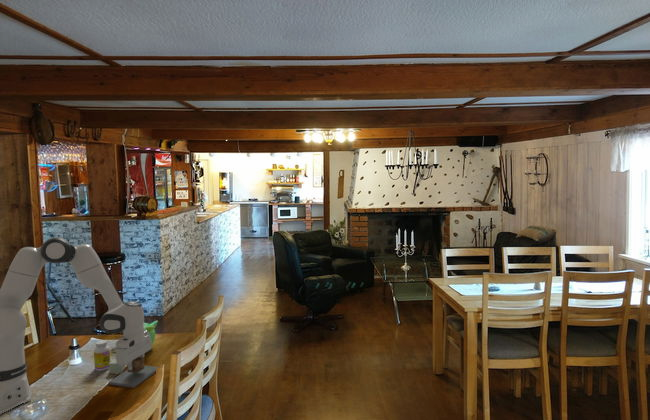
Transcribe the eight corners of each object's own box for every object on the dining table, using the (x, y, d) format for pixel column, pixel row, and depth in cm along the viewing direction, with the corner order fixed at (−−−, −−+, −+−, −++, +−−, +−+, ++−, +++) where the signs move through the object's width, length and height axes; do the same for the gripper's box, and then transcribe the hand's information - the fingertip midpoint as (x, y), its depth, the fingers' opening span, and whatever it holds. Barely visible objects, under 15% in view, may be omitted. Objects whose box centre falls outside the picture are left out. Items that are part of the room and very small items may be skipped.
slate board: (133, 387, 192) (133, 385, 192) (108, 384, 195) (108, 381, 195) (159, 369, 209) (159, 367, 209) (135, 366, 212) (135, 364, 212)
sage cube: (120, 373, 205) (119, 363, 205) (109, 373, 205) (108, 363, 205) (124, 368, 210) (124, 358, 210) (114, 369, 210) (113, 358, 210)
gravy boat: (125, 344, 240) (124, 318, 238) (159, 340, 245) (157, 315, 243) (121, 358, 222) (119, 329, 221) (157, 353, 228) (155, 325, 226)
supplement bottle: (104, 371, 207) (102, 345, 206) (91, 370, 209) (90, 344, 207) (113, 365, 214) (112, 339, 213) (101, 364, 215) (100, 339, 214)
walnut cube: (137, 373, 200) (136, 362, 199) (127, 371, 201) (127, 361, 200) (144, 368, 204) (143, 357, 204) (135, 367, 206) (134, 356, 205)
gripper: (143, 328, 212) (144, 356, 213) (112, 345, 192) (114, 375, 194) (154, 329, 211) (155, 357, 212) (125, 346, 191) (126, 377, 192)
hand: (135, 366), depth 203 cm, fingers closed on walnut cube, 5 cm apart
